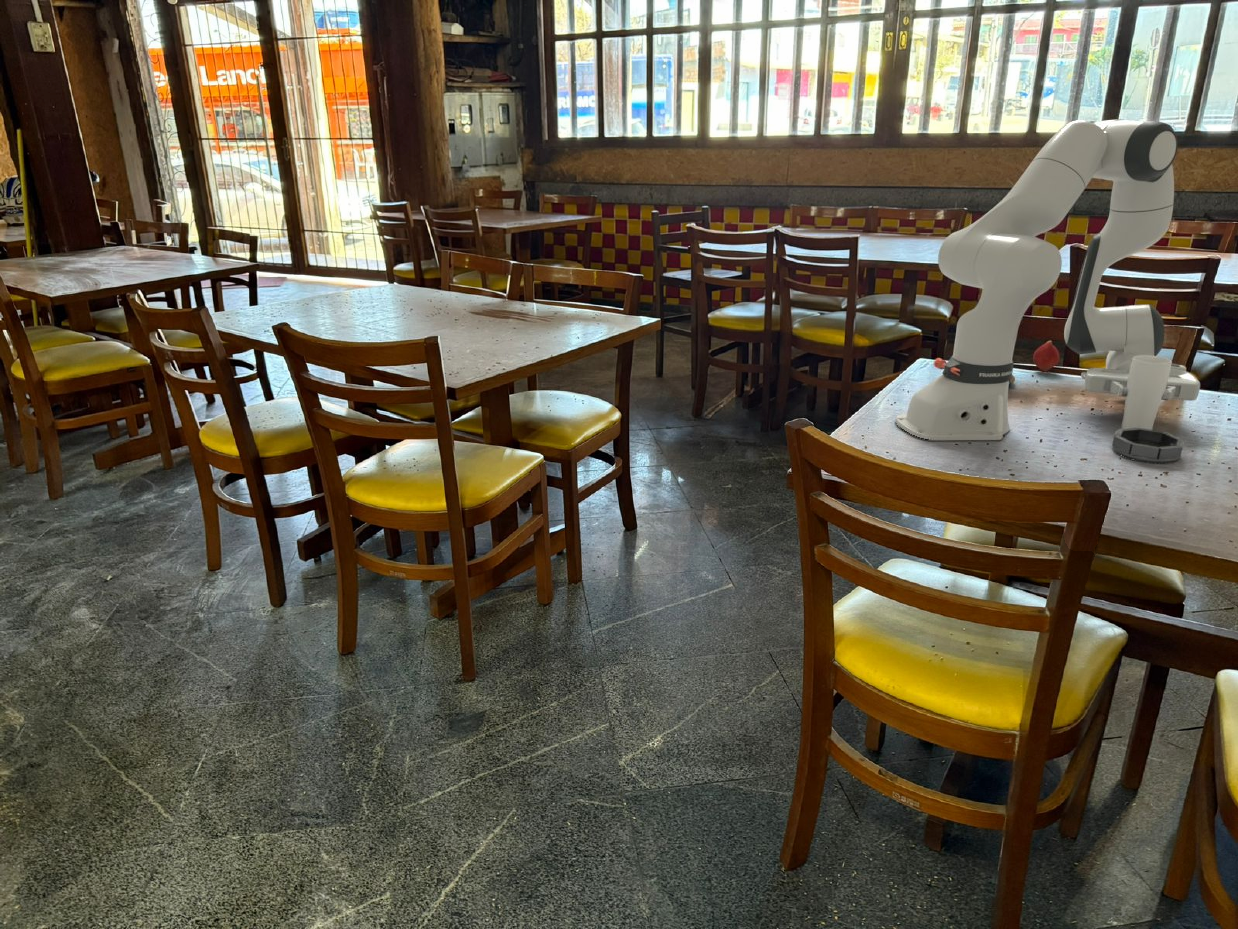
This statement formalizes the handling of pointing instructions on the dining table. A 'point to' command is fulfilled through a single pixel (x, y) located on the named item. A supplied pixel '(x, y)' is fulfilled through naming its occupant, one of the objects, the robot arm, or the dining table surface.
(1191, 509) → the dining table surface
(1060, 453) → the dining table surface
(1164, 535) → the dining table surface
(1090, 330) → the robot arm
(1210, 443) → the dining table surface
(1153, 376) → the drinking glass
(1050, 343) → the onion
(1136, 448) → the ring
